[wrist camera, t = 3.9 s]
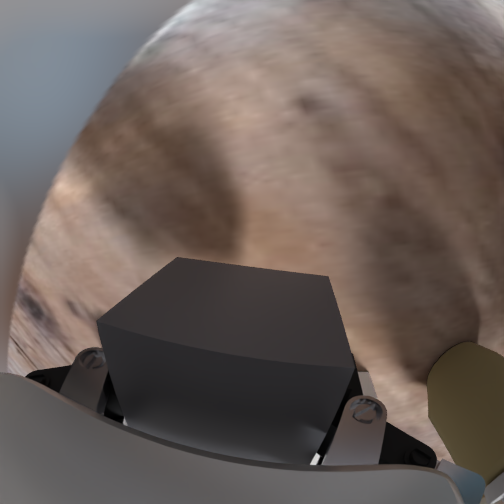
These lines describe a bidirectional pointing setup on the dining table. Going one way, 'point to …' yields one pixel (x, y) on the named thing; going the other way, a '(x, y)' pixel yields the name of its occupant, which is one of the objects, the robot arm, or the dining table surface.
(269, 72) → the dining table surface
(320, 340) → the plug
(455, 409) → the squeeze bottle
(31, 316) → the dining table surface
